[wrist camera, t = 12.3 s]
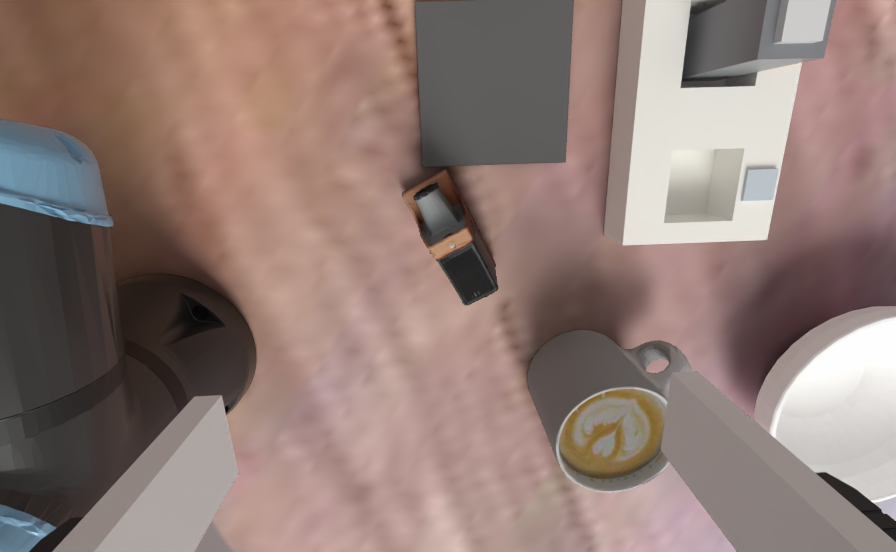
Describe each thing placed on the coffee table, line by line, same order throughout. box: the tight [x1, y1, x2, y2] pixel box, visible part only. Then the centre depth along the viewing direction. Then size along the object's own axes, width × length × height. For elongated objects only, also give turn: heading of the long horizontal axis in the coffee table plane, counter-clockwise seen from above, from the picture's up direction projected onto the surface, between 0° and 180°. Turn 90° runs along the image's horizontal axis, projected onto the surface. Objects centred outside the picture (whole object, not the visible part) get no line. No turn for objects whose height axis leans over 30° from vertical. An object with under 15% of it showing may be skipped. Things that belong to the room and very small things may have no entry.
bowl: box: [754, 306, 896, 503], centre depth 41 cm, size 20×20×7 cm
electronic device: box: [402, 169, 498, 305], centre depth 35 cm, size 4×10×8 cm, turn 28°
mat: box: [415, 0, 574, 167], centre depth 34 cm, size 12×12×1 cm
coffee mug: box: [527, 330, 691, 493], centre depth 38 cm, size 13×10×10 cm
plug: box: [681, 0, 836, 82], centre depth 29 cm, size 4×4×11 cm
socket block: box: [604, 0, 802, 245], centre depth 34 cm, size 12×19×4 cm, turn 1°
